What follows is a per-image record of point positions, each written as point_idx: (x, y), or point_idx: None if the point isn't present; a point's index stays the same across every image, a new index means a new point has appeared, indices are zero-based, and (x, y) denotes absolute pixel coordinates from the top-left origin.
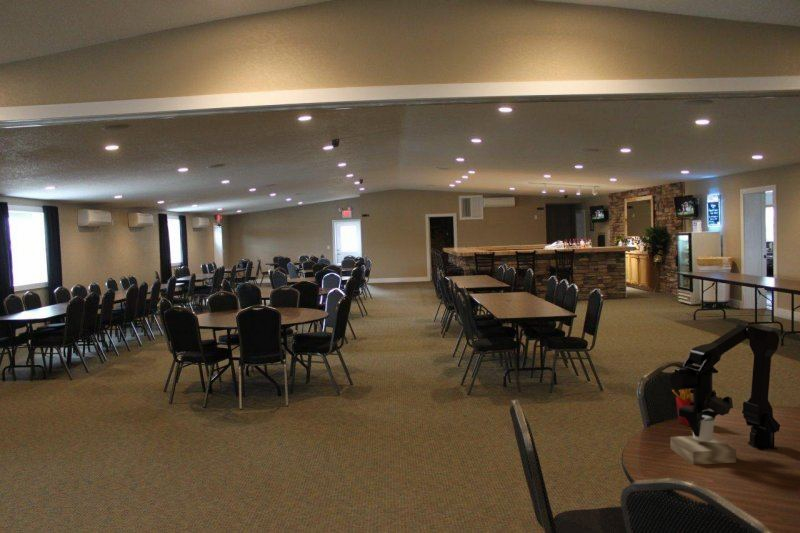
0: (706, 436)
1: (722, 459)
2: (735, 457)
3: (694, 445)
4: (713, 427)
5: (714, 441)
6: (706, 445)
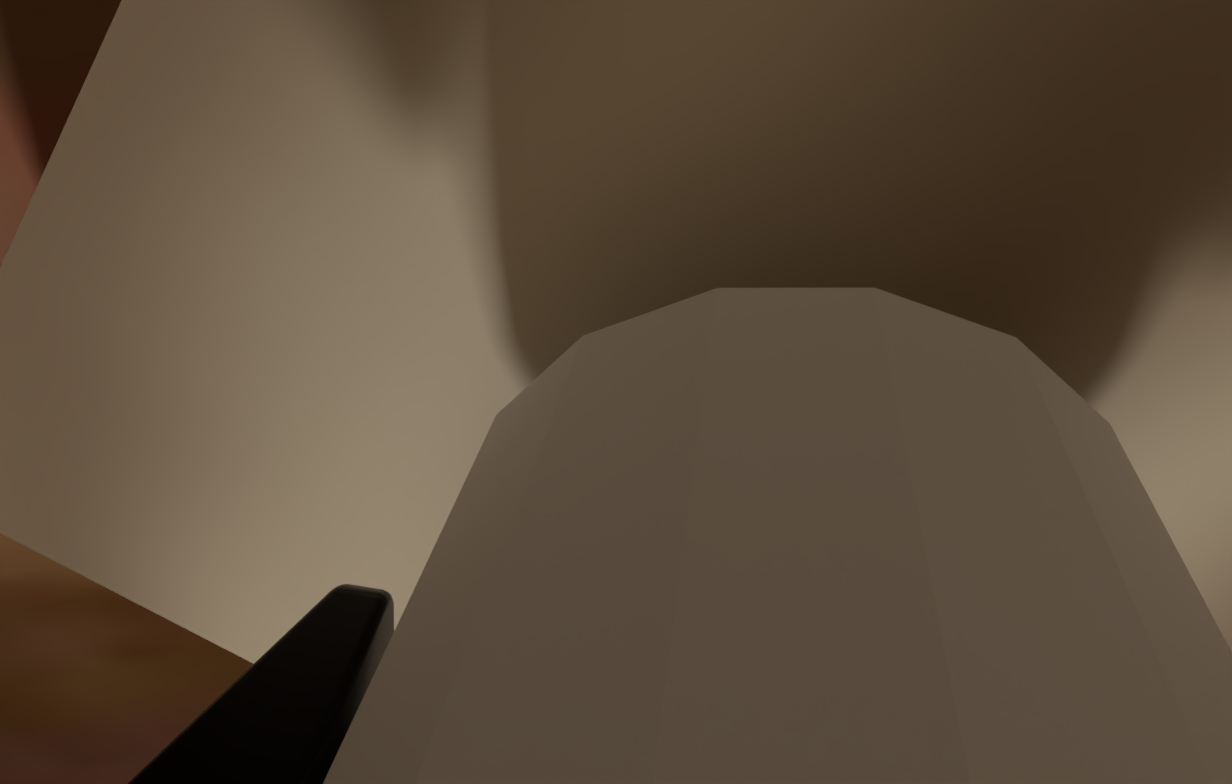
0: (1154, 545)
1: None
2: None
3: (1206, 539)
4: (679, 758)
5: (328, 238)
6: (969, 296)
